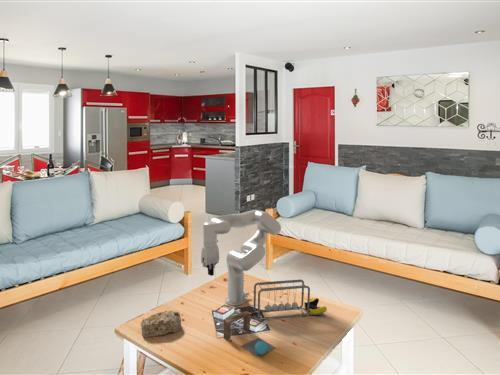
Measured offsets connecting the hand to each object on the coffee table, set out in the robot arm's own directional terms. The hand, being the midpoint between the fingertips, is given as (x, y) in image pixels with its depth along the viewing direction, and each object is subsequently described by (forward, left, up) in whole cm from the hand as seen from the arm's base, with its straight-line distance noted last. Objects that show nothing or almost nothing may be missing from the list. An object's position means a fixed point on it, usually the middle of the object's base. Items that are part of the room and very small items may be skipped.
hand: (210, 274), depth 233 cm
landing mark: (+6, +46, -21) cm, 52 cm away
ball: (+9, +52, -18) cm, 55 cm away
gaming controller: (-45, +40, -22) cm, 64 cm away
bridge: (+6, +30, -21) cm, 38 cm away
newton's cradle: (-28, +29, -22) cm, 46 cm away
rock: (+33, +1, -22) cm, 39 cm away
